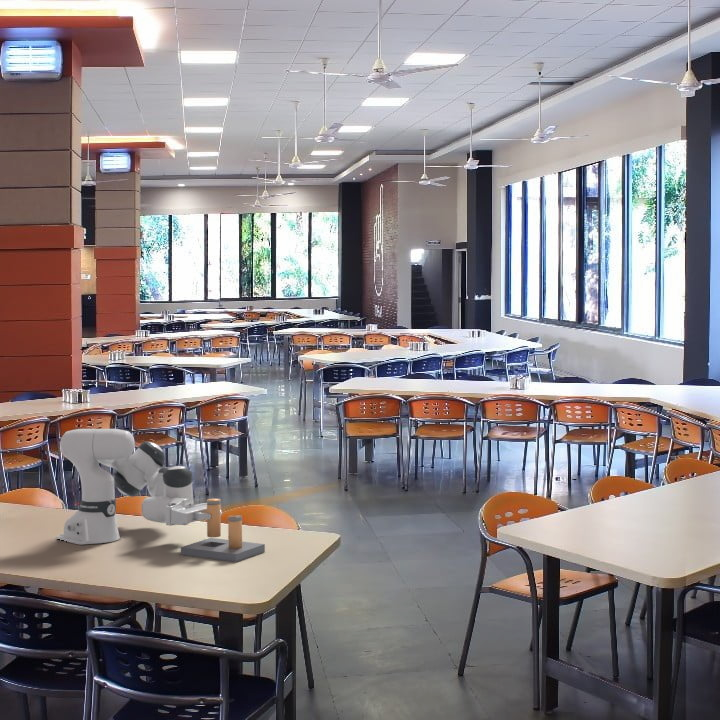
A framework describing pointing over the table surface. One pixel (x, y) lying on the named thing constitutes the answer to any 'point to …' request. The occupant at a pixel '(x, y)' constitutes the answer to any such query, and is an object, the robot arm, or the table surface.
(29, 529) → the table surface
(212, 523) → the orange banded cylinder
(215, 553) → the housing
